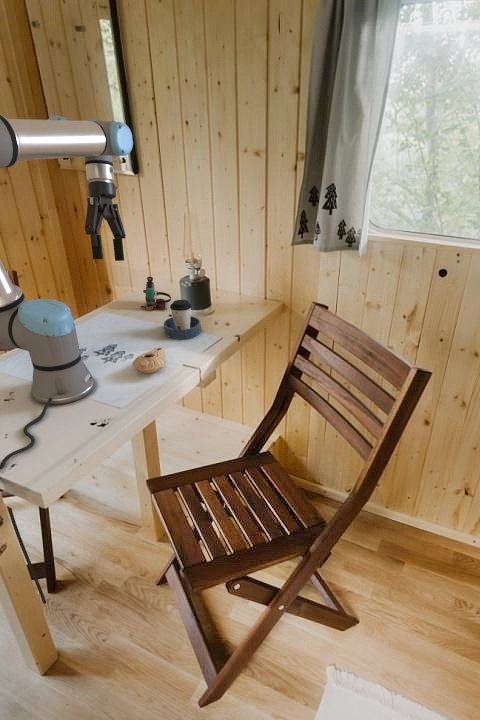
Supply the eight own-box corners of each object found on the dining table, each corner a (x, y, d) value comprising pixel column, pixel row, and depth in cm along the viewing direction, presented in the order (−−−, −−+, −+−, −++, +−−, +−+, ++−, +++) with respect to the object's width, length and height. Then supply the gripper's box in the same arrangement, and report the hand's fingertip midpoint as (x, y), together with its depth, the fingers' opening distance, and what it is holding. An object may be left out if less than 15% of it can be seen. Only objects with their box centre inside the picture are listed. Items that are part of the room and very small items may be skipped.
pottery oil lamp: (175, 358, 140) (177, 343, 134) (155, 387, 133) (156, 373, 128) (149, 345, 140) (149, 330, 134) (127, 374, 133) (127, 359, 128)
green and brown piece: (171, 284, 168) (142, 282, 166) (170, 312, 174) (143, 311, 172) (170, 276, 176) (143, 275, 174) (170, 303, 181) (143, 302, 179)
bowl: (187, 342, 150) (186, 332, 148) (157, 335, 155) (156, 325, 153) (208, 329, 159) (207, 320, 157) (179, 322, 164) (178, 313, 162)
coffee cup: (179, 337, 153) (176, 307, 147) (168, 330, 157) (165, 301, 152) (197, 331, 156) (195, 303, 151) (186, 325, 161) (184, 297, 156)
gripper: (91, 172, 122) (100, 258, 127) (132, 189, 146) (138, 260, 151) (64, 174, 123) (74, 258, 129) (109, 191, 147) (116, 261, 152)
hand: (109, 260), depth 140 cm, fingers open, 13 cm apart
